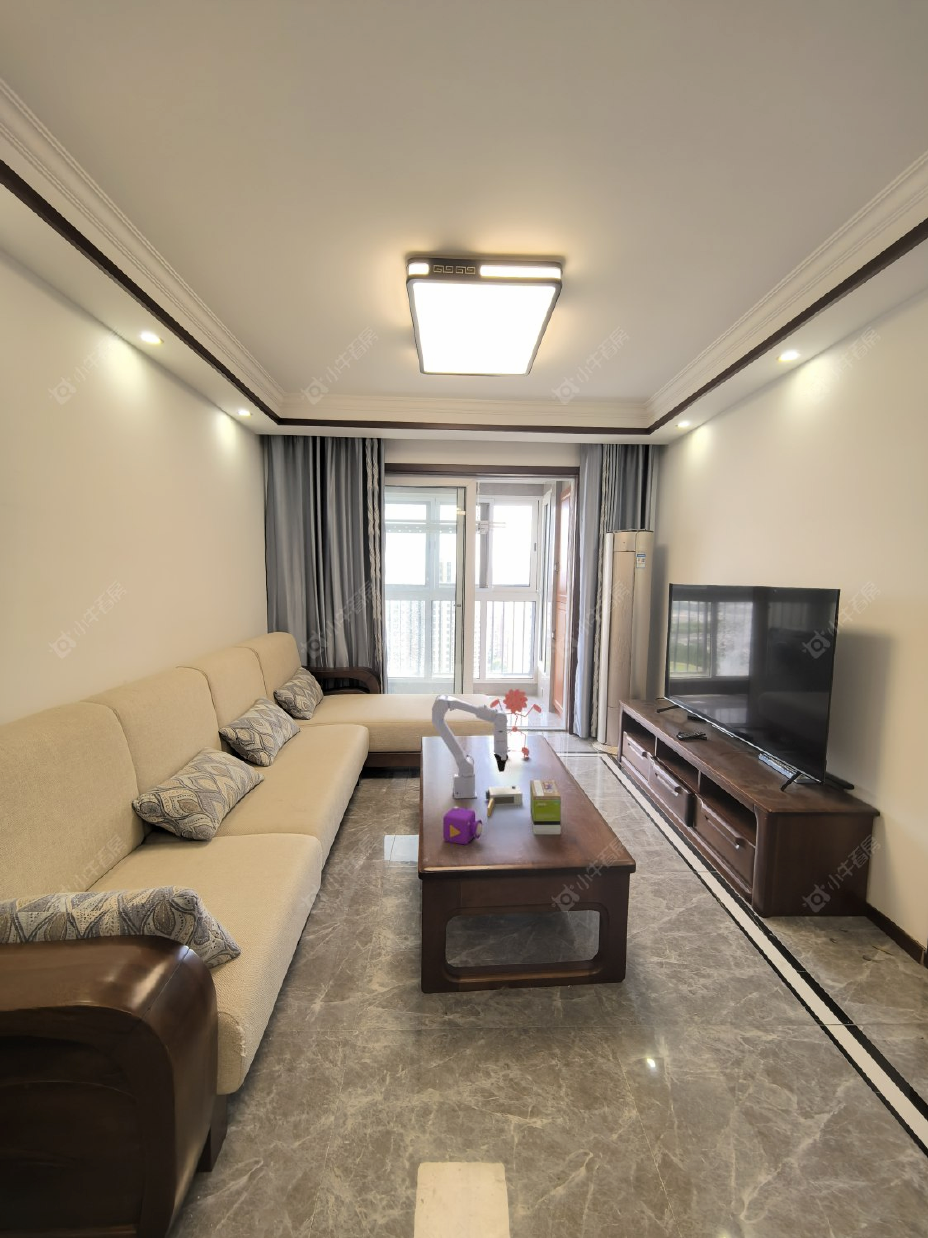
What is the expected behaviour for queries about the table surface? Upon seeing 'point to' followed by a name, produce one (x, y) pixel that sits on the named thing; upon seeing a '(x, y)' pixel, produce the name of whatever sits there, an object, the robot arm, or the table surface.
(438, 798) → the table surface
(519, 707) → the figurine
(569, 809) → the table surface
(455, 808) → the toy camera
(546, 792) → the tea box
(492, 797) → the side door
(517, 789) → the white knobbed box
